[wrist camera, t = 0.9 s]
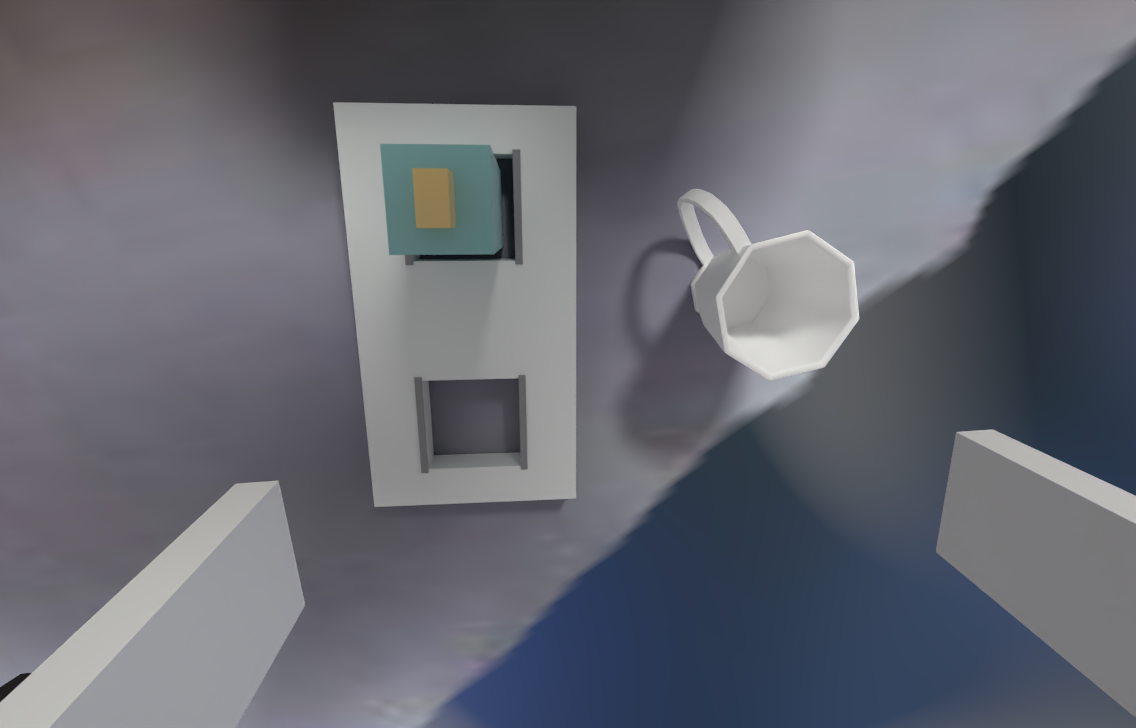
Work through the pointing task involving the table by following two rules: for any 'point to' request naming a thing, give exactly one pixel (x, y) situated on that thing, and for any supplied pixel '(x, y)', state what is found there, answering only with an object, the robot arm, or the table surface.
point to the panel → (466, 306)
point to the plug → (442, 199)
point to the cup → (770, 293)
